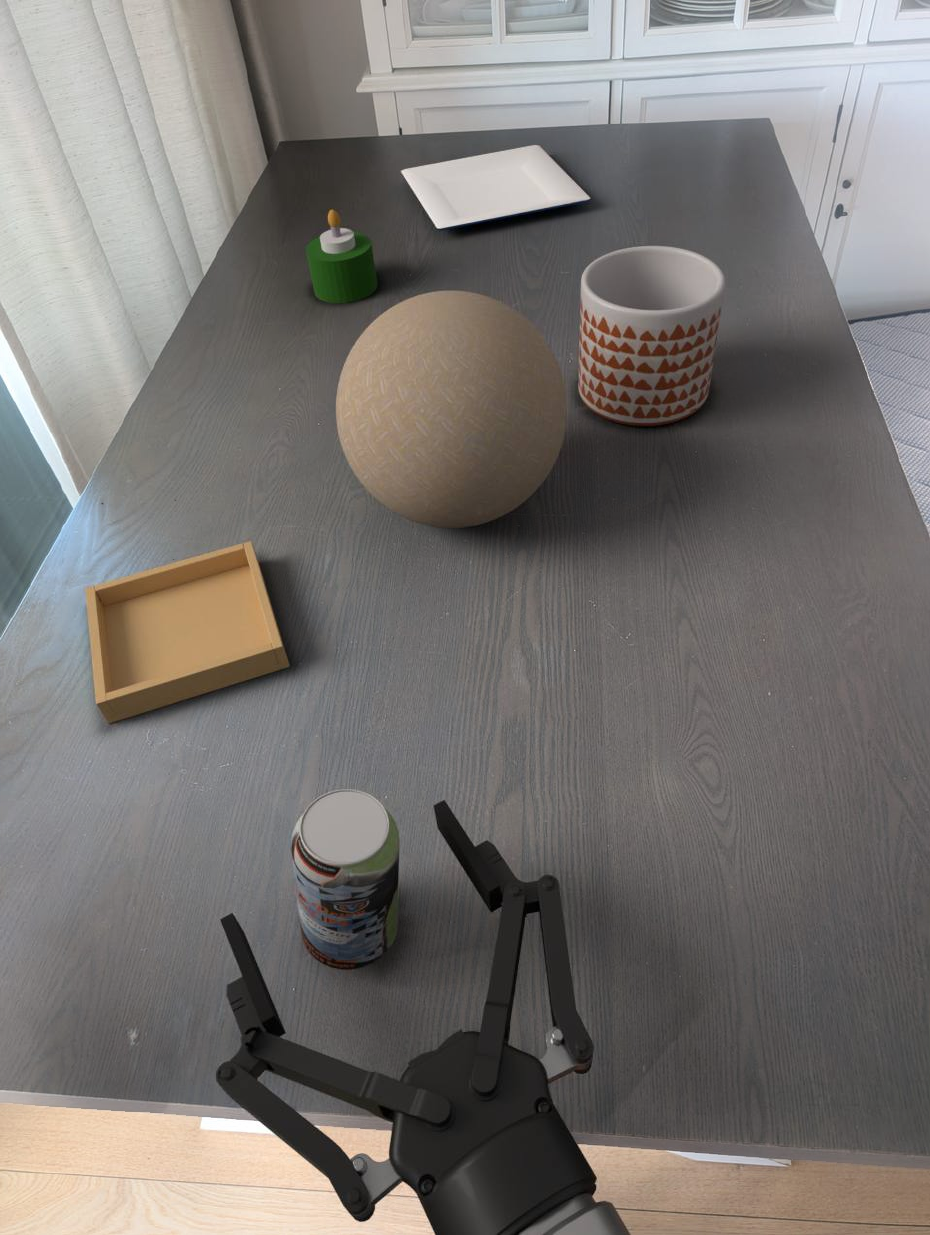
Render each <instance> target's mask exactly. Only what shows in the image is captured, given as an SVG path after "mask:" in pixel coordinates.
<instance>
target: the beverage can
mask: <svg viewBox="0 0 930 1235" xmlns="http://www.w3.org/2000/svg"><path fill="white" fill-rule="evenodd" d="M290 855H291V861H292V862H291V863H292V870H293V878H294V886H295V894H296V902H297V911H298V918H299V926H300V927H299V928H300V935H301V939H302V942H303V945H304V947H305V948H306V950H307V951H308V953H309V954H310V955H311V956H312V957H313V958H314V959H315V961H318V962H319V963H320V964H322V965H324V966H326V967H329V968H331V969H335V970H339V971H340V970H341V971H351V970H358V969H361V968H365V967H367V966H369V965H371V964H373V963H375V962H376V961H378V960H380V959H381V958H382V957H383V956H384V955H385V954H386V953H387V952H388V951H389V949H390V947H391V946H392V944H393V943H394V941H395V938H396V936H397V931H398V922H399V921H398V920H399V919H398V918H399V884H400V883H399V881H400V880H399V879H400V878H399V876H400V872H399V871H400V833H399V828H398V826H397V823H396V820H395V819H394V818H393V816H392V814H391V813H390V811H389V810H387V808H385V806H384V805H383V804H382V803H381V801H380V800H378V799H377V798H376V797H375V796H373V795H371V794H369V793H368V792H364V791H363V790H358V789H353V788H352V789H349V788H344V789H336V790H331V791H329V792H325V793H323V794H322V795H320V796H318V797H317V798H316V799H314V800H313V801H311V802H310V803H309V805H308V806H307V807H306V808H305V810H304V812H303V813H302V814H301V815H300V817H299V819H298V821H297V822H296V823H295V825H294V828H293V831H292V834H291V839H290Z"/></svg>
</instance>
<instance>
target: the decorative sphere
mask: <svg viewBox="0 0 930 1235" xmlns="http://www.w3.org/2000/svg"><path fill="white" fill-rule="evenodd" d="M335 418H336V428H337V433H338V438H339V442H340V445H341V448H342V452H343V454H344V456H345V458H346V461H347V462H348V465H349V466H350V468H351V470H352V472H353V474H354V475H355V476H356V478H357V479H358V481H359V482H360V483H361V485H362V486H363V487H364V488H365V489H366V491H367V492H368V493H369V494H370V495H372V496H373V497H374V499H375V500H377V501H378V502H379V503H380V504H381V505H383V506H384V507H386V508H387V509H388V510H390V511H392V512H393V513H395V514H397V515H398V516H400V517H403V518H404V519H407V520H409V521H411V522H415V523H418V524H421V525H425V526H428V527H435V528H442V529H443V528H446V529H460V528H469V527H474V526H479V525H482V524H486V523H490V522H491V521H494V520H497V519H498V518H501V517H503V516H505V515H507V514H508V513H511V512H512V511H514V510H515V509H518V507H520V506H521V505H522V504H523V503H525V502H526V501H527V500H528V499H530V498H531V496H532V495H533V494H535V492H536V491H537V490H538V489H539V488H540V486H542V484H544V482H545V481H546V479H547V477H548V475H549V474H550V473H551V471H552V469H553V467H554V465H555V464H556V462H557V459H558V457H559V454H560V452H561V449H562V446H563V442H564V439H565V434H566V429H567V421H568V420H567V419H568V396H567V389H566V386H565V380H564V377H563V373H562V370H561V368H560V365H559V363H558V360H557V358H556V356H555V354H554V352H553V350H552V348H551V347H550V345H549V343H548V341H547V340H546V339H545V338H544V336H543V335H542V334H541V333H540V331H539V330H538V329H537V327H535V326H534V325H533V324H532V322H530V321H529V320H528V319H527V318H526V317H525V316H524V315H522V314H521V313H519V312H518V311H517V310H516V309H514V308H512V307H511V306H509V305H507V304H506V303H504V302H501V301H500V300H497V299H495V298H492V297H491V296H488V295H483V294H480V293H478V292H477V293H476V292H472V291H465V290H437V291H431V292H426V293H422V294H418V295H415V296H412V297H410V298H407V299H405V300H402V301H400V302H399V303H397V304H395V305H393V306H392V307H390V308H388V309H387V310H386V311H384V312H383V313H381V314H380V315H379V316H378V317H377V318H376V319H374V320H373V321H372V322H371V323H370V324H369V325H368V326H367V327H366V328H365V329H364V331H363V332H361V335H360V336H359V337H358V338H357V339H356V341H355V343H354V344H353V346H352V347H351V349H350V351H349V353H348V355H347V357H346V359H345V361H344V364H343V367H342V370H341V372H340V376H339V379H338V384H337V390H336V398H335Z"/></svg>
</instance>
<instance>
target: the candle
mask: <svg viewBox="0 0 930 1235" xmlns="http://www.w3.org/2000/svg"><path fill="white" fill-rule="evenodd" d="M327 222H328V225H329V226H330V229H328V230H326V231H324V232H322V233H321V234H320V236H318V237H316V238H314V239H312V240H311V241H310V242H309V243H308V244H307V245H306V247H305V254H306V258H307V264H308V268H309V273H310V278H311V283H312V287H313V292H314V295H315V296H316V298H318V299H319V300H321V301H323V302H325V303H330V304H348V303H353V302H357V301H360V300H363V299H365V298H367V297H369V296H370V295H372V294H374V292H375V291H376V290H377V288H378V277H377V272H376V271H377V270H376V265H375V259H374V251H373V245H372V240H371V238H370V237H369V236H368V235H366V234H365V233H362V232H357V231H353V230H351V229H350V228H345V227H340V225H341V217H340V215H339V214H338V211H336V210H335V209H330V210H329V211H328V213H327Z"/></svg>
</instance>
